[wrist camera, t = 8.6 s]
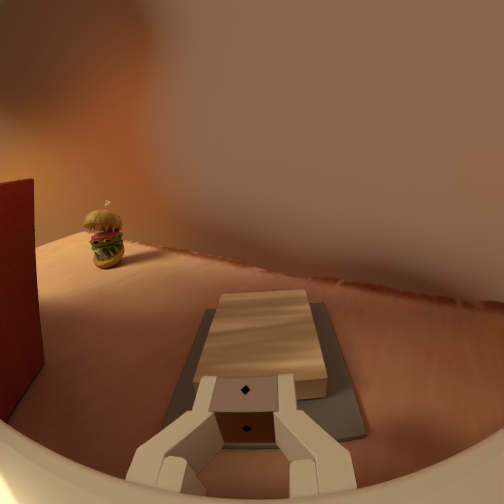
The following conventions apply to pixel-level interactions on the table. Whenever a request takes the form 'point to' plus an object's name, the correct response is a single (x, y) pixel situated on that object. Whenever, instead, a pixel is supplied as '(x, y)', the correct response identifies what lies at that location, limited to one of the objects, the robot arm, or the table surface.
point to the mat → (318, 409)
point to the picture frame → (265, 340)
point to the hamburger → (105, 237)
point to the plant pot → (18, 295)
